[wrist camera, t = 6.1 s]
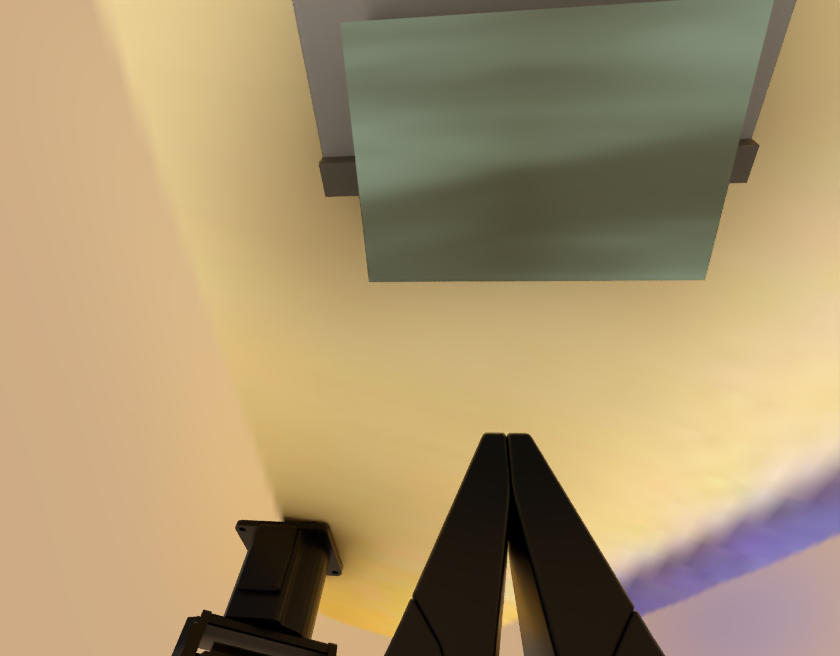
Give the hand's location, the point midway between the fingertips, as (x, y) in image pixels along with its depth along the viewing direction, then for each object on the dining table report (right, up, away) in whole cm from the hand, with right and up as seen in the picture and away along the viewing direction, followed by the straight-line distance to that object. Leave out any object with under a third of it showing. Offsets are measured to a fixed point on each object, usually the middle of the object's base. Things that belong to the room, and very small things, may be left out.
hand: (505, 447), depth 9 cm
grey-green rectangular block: (+2, +4, +7) cm, 9 cm away
